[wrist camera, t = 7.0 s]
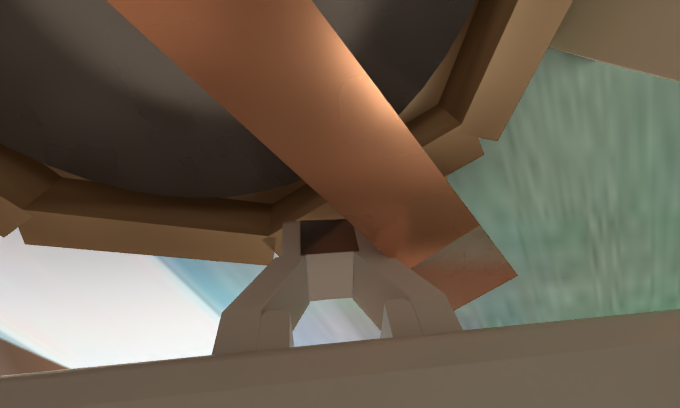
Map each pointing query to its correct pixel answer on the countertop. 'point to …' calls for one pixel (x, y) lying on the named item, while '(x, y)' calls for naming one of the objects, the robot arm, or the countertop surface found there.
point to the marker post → (624, 34)
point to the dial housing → (299, 198)
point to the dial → (250, 110)
